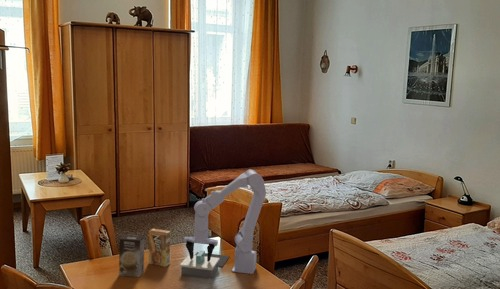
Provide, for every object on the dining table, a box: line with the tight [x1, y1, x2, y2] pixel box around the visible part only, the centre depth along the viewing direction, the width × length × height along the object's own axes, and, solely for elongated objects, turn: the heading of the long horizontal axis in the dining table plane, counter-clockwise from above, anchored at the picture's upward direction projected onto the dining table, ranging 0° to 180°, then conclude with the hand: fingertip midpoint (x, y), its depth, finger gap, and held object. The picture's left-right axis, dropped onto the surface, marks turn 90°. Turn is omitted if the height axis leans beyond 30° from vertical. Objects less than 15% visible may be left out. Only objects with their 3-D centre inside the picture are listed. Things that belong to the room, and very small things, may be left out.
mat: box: [194, 251, 230, 268], centre depth 216 cm, size 16×13×1 cm
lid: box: [179, 250, 220, 270], centre depth 202 cm, size 14×12×5 cm
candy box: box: [148, 228, 171, 267], centre depth 208 cm, size 9×4×15 cm, turn 70°
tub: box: [180, 263, 219, 280], centre depth 202 cm, size 13×11×4 cm
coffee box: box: [118, 233, 145, 278], centre depth 197 cm, size 9×6×16 cm
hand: (200, 259), depth 202 cm, fingers open, 7 cm apart
